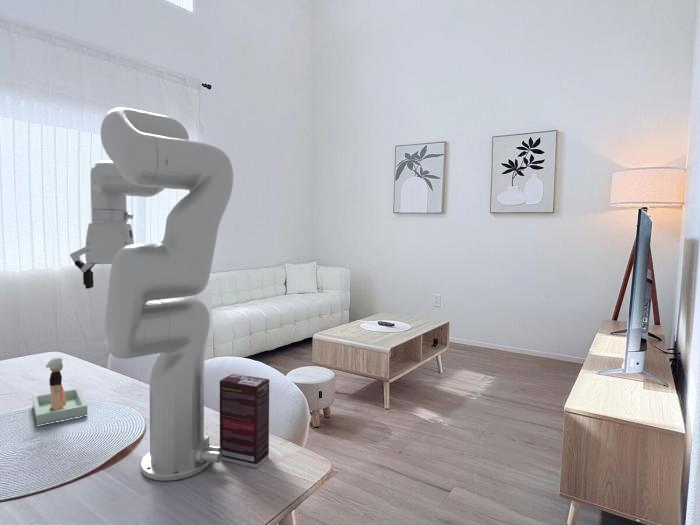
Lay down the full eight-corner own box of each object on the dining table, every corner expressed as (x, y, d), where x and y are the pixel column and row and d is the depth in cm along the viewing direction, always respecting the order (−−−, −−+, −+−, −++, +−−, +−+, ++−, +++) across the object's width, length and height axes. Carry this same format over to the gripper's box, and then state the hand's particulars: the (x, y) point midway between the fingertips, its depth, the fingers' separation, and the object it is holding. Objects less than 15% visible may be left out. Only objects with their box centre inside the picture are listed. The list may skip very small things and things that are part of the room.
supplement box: (269, 457, 86) (271, 378, 85) (256, 469, 81) (257, 386, 80) (232, 448, 89) (233, 372, 88) (218, 460, 84) (218, 380, 83)
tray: (87, 416, 102) (87, 405, 102) (37, 427, 96) (36, 415, 96) (78, 397, 112) (78, 388, 112) (32, 406, 106) (32, 396, 106)
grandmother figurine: (72, 411, 103) (71, 358, 102) (53, 416, 100) (52, 362, 99) (60, 402, 108) (58, 352, 107) (41, 407, 104) (40, 355, 104)
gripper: (151, 219, 112) (152, 285, 113) (76, 217, 108) (78, 286, 109) (143, 217, 104) (144, 289, 105) (63, 216, 101) (65, 290, 102)
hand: (111, 287), depth 107 cm, fingers open, 9 cm apart
